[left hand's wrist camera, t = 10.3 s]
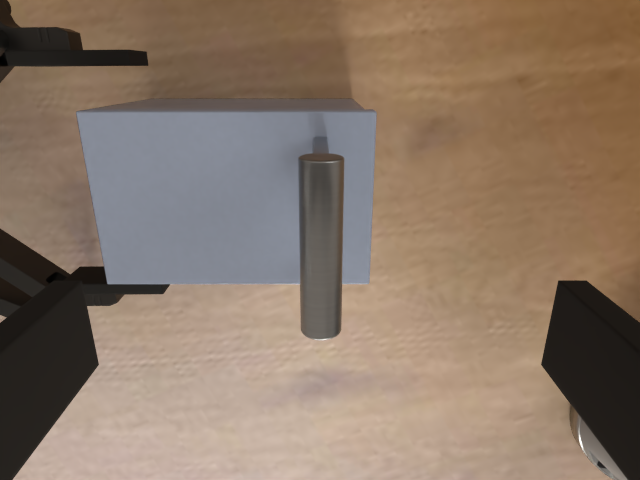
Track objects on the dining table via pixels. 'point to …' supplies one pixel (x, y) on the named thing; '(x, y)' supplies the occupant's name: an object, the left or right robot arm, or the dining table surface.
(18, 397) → the left robot arm
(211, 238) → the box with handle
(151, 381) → the dining table surface
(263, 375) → the dining table surface
